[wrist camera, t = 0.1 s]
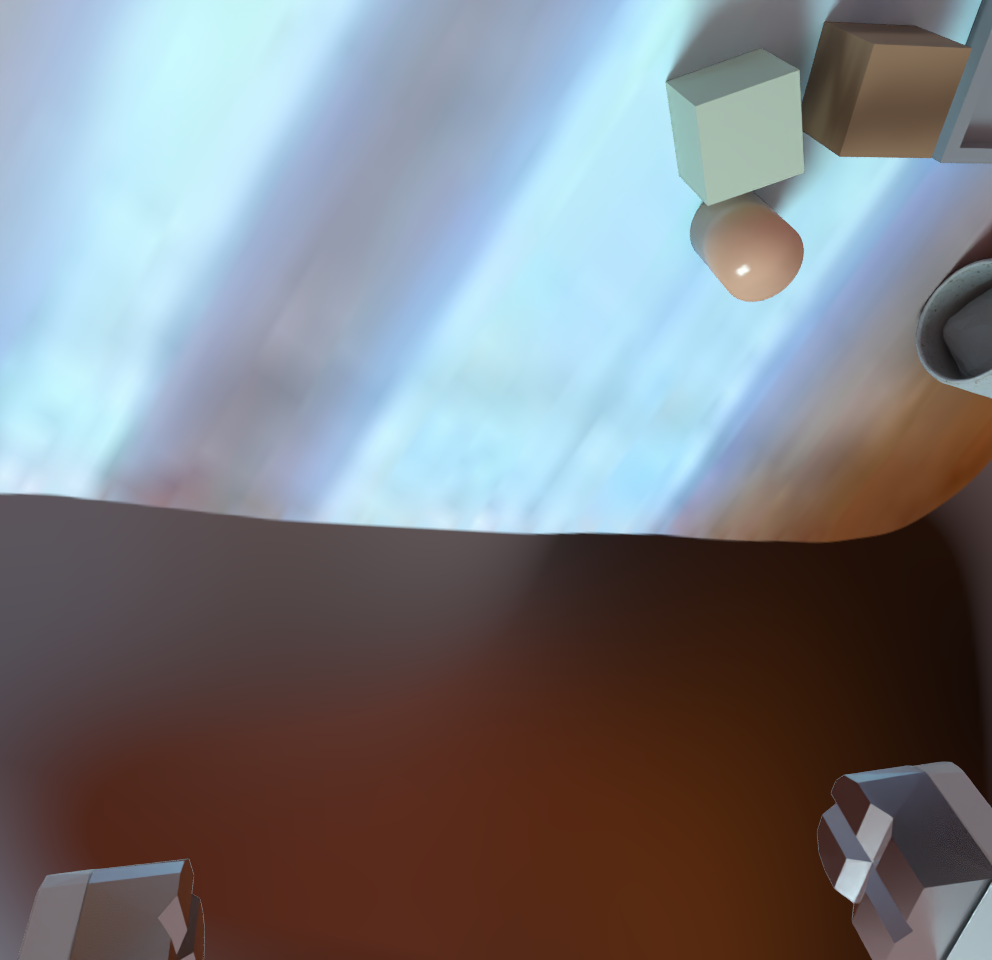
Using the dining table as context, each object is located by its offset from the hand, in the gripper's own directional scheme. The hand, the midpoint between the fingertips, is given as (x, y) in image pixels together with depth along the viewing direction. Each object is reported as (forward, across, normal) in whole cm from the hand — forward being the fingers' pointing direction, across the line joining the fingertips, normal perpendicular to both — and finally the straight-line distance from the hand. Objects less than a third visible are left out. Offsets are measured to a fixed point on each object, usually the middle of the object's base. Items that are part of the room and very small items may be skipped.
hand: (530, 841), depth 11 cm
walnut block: (+39, -25, -4) cm, 46 cm away
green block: (+39, -18, -2) cm, 43 cm away
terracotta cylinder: (+39, -20, +4) cm, 44 cm away
